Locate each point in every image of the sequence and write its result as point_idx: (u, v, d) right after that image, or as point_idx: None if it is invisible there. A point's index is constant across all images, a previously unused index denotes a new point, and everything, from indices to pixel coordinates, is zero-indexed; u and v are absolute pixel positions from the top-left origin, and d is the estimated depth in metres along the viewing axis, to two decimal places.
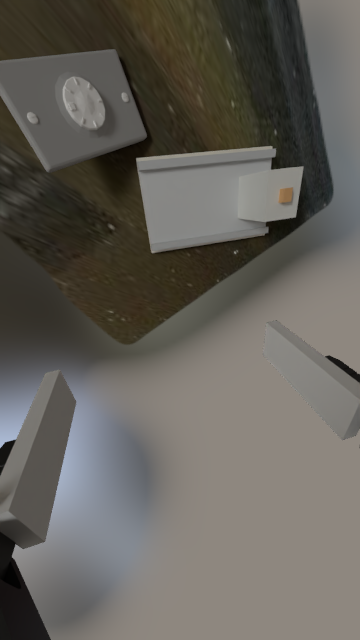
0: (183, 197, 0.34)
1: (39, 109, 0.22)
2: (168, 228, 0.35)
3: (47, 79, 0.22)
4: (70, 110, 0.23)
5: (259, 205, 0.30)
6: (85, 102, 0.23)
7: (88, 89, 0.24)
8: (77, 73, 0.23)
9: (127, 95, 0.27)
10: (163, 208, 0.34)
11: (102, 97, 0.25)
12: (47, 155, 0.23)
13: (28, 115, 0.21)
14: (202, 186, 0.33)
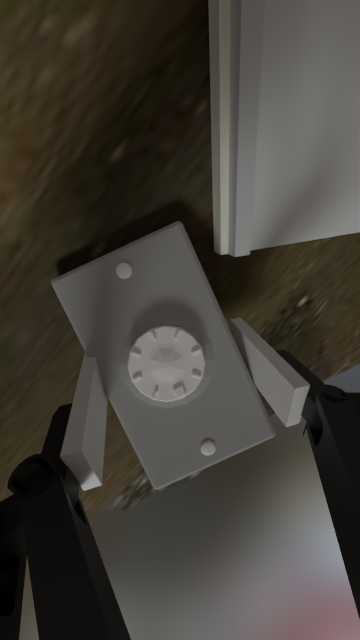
0: (314, 123, 0.12)
1: (193, 435, 0.13)
2: None
3: (146, 416, 0.13)
4: (186, 394, 0.12)
5: None
6: (166, 367, 0.12)
7: (142, 356, 0.12)
8: (119, 364, 0.13)
9: (118, 264, 0.12)
10: (319, 192, 0.13)
11: (140, 323, 0.13)
12: (257, 436, 0.13)
13: (205, 453, 0.13)
14: (305, 35, 0.10)
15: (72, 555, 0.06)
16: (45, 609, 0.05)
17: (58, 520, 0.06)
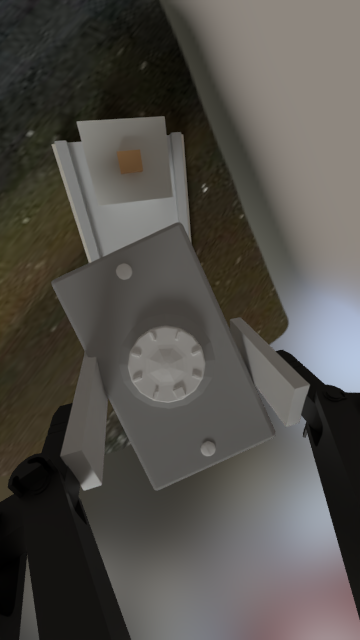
0: None
1: (193, 436, 0.13)
2: None
3: (146, 417, 0.13)
4: (186, 395, 0.12)
5: None
6: (166, 367, 0.12)
7: (142, 356, 0.12)
8: (119, 364, 0.13)
9: (119, 265, 0.12)
10: None
11: (140, 323, 0.13)
12: (257, 437, 0.13)
13: (206, 454, 0.13)
14: None
15: (72, 554, 0.06)
16: (45, 609, 0.05)
17: (58, 520, 0.06)
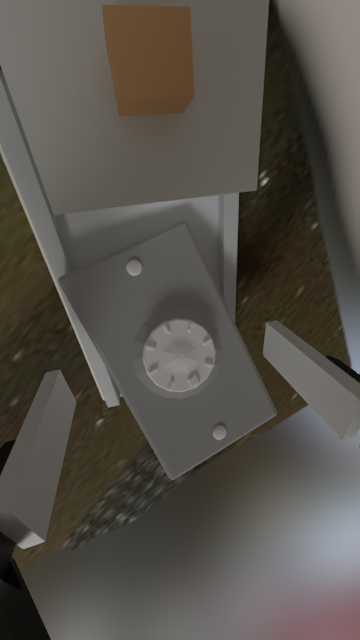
0: None
1: (205, 422, 0.14)
2: None
3: (161, 408, 0.13)
4: (200, 383, 0.13)
5: None
6: (181, 358, 0.13)
7: (157, 349, 0.13)
8: (132, 359, 0.13)
9: (129, 261, 0.13)
10: None
11: (152, 318, 0.13)
12: (261, 416, 0.15)
13: (218, 438, 0.14)
14: None
15: None
16: None
17: None
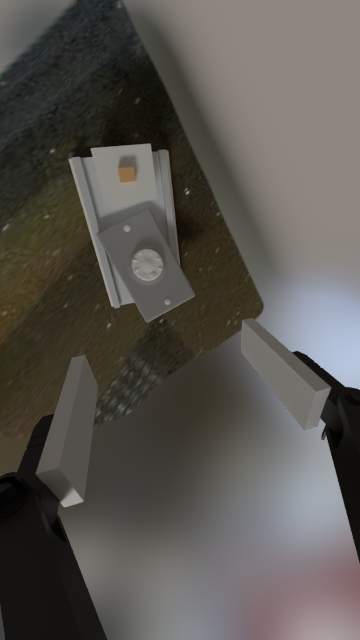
0: None
1: (161, 296, 0.32)
2: None
3: (140, 289, 0.31)
4: (156, 276, 0.31)
5: None
6: (147, 265, 0.30)
7: (137, 261, 0.30)
8: (127, 267, 0.31)
9: (125, 225, 0.31)
10: None
11: (135, 249, 0.31)
12: (187, 295, 0.32)
13: (166, 304, 0.32)
14: None
15: (47, 578, 0.05)
16: None
17: (32, 542, 0.06)
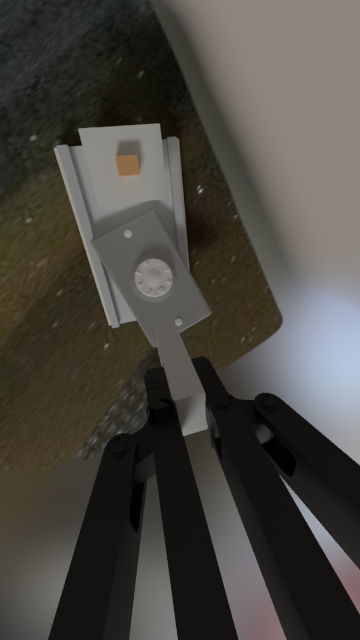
0: None
1: (170, 316, 0.26)
2: None
3: (146, 307, 0.26)
4: (165, 292, 0.25)
5: None
6: (154, 278, 0.25)
7: (141, 274, 0.25)
8: (129, 281, 0.25)
9: (125, 230, 0.25)
10: None
11: (138, 259, 0.25)
12: (202, 313, 0.27)
13: (178, 324, 0.26)
14: None
15: (188, 486, 0.07)
16: (168, 513, 0.06)
17: (178, 454, 0.08)
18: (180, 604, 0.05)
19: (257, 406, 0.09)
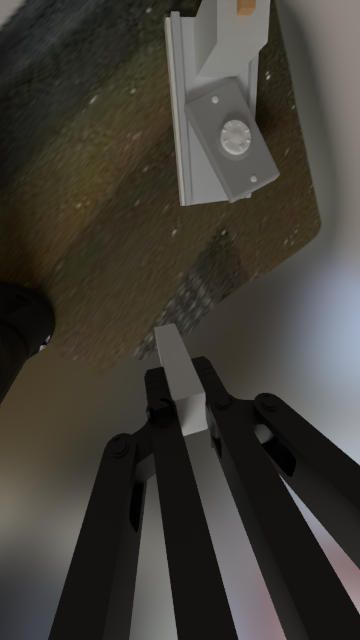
0: None
1: (247, 173, 0.31)
2: None
3: (228, 164, 0.31)
4: (245, 149, 0.30)
5: (243, 50, 0.25)
6: (237, 135, 0.30)
7: (226, 132, 0.30)
8: (215, 140, 0.30)
9: (213, 96, 0.30)
10: (217, 182, 0.37)
11: (223, 122, 0.30)
12: (272, 173, 0.32)
13: (252, 181, 0.32)
14: None
15: (188, 485, 0.07)
16: (167, 513, 0.06)
17: (177, 454, 0.08)
18: (180, 604, 0.05)
19: (257, 406, 0.09)
